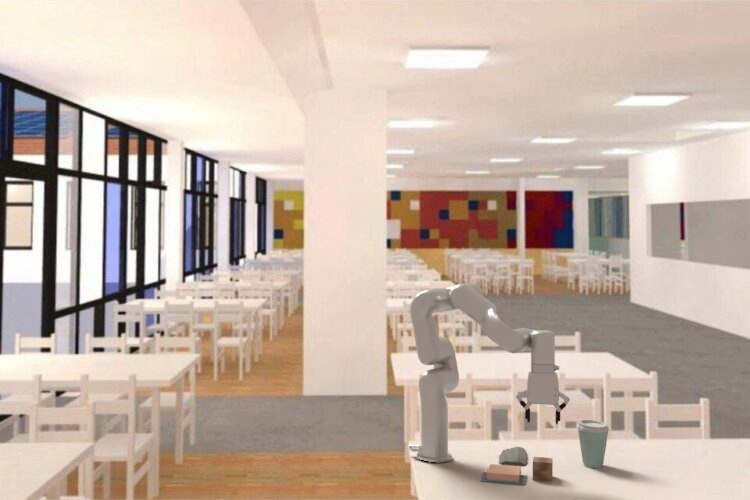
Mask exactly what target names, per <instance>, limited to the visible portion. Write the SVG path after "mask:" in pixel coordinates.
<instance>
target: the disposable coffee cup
mask: <svg viewBox="0 0 750 500" xmlns="http://www.w3.org/2000/svg"><path fill="white" fill-rule="evenodd" d="M576 425H577V426H576V429H577V432H578V433H577V434H578V440H579V445H580V452H581V460H582V463H583V465H584V466H585V467H586V468H591V469H600V468H602V467H603V465H604V461H605V454H606V448H607V444H608V443H607V442H608V435H609V431H610V430H609V426H608V424H607V423H606V422H605V423H604V422H603V421H598V420H594V419H585V418H584V419H583V418H582V419H579V420H578V423H577V424H576Z"/></svg>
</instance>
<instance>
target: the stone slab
mask: <svg viewBox="0 0 750 500" xmlns="http://www.w3.org/2000/svg"><path fill="white" fill-rule="evenodd" d="M502 450H503V451H502ZM502 450H501V452H502V453H501V452H500V454H499V456H498V460H499V461H498V463H499V465H509V466H521V467H524V466H525V467H526V466H527V465H528V464H529V462H528V455H527V451H526V449H525V448H524V447H521V446H515V447H511V448H510V449H509V448H506V450H505V449H502Z"/></svg>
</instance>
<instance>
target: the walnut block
mask: <svg viewBox="0 0 750 500" xmlns="http://www.w3.org/2000/svg"><path fill="white" fill-rule="evenodd" d="M553 462H554V461H553V457H542V456H541V457H540V456H533V458H532V481H538V482H540V481H541V482H548V483H552V482H553V473H554V472H553V468H554V467H553Z"/></svg>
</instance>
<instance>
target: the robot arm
mask: <svg viewBox="0 0 750 500" xmlns="http://www.w3.org/2000/svg"><path fill="white" fill-rule="evenodd" d="M455 310H459V311H461V312H462V313H464V314H465V315H466V316H468V317H469V318H470V319H471V320H472V321H474V322H475V323H477V325H479V327H481V329H482V331H483V332H484V333H485V335H486V336H487V338H488V339H490V340H491V341H492V342H493V343H495V344H496V345H497V346H498V347H500V348H501V349H502V350H504V351H506V352H508V353H511V354H518V353H521V352H526V351H530V371H529V372H528V375H527V382H526V389H525V390H523V391H522V392H520V393H518V394H516V396H515V398H516V399H517V401H518V402H519V404H520V406H522V408H523V409H524V411H525V414H524V415H525V418H524V419H525V420H527V423H530V422H531V406H532V404H533V405H552V406H554V408H555V409H556V410H555V424H556V425H558V424H559V422H561V411H562V410H563V409H565V408H566V406H567V405H568V404H569V402H570V401H571V399H570V397H569V396H568V395H566V394H564V393H563V392H561V391H560V387H559V386H560V385H559V384H560V383H559V376H558V372H556V371H560V365H557V364H556V359H555V358H556V353H555V352H556V351H555V349H556V347H555V346H556V342H555V341H556V337H555V332H553V331H551V330H548V329H531V328H527V327H521V328H520V327H519V328H515V329H514V328H512V327H511V326H509V325H508V324H506V323H505V322H504V321H503V320H501V318H500V317H499V315H498V314H497V306H496V305H495V304H494V303H493V302H491V301H490V300H489V299H487V298H486V297H484V291H483V290H482V288H481V287H480V286H479V285H478V284H476V283H472V282H468V283H467V282H465V283H458V284H456V285H454V286H450V287H441V288H429V289H424V290H422V291H420V292H418V293H417V294H416V295H415V296H414V297H413V298H412V301H411V303H410V307H409V313H410V314H409V315H410V319H411V320H410V321H411V323H412V327H413V334H414V341H415V347H416V354H417V358H418V360H419V362H420V363H421V364H423V365H424V366H433V368H431V369H428V370H425V371H424V372H423V373H422V374H421V376H420V377H419V378H418V379H419V380H418V390H419V391H418V392H419V397H420V415H421V416H420V417H421V418H420V441H421V442H420V444H416V445H415V444H409V448H408V449H409V451H411V452H417V454H416V458H418V459H417V460H419V459H420V460H419V461H421V460H424V461H429V462H428V463H431V462H436V463H435V464H437V463H438V464H439V463H446V462H449V461H452V460H453V454H452V453H450V452H449V406H448V402H447V401H448V400H447V397H446V394H447V393H451V392H453V391H454V390H456V389H457V387H458V386H459V383H460V375H459V368H458V362H457V358H456V356H457V355H456V352H455V347H454V345H453V344H452V342H451V341H450V340H449V339H448V338H447V337H444V336H439V335H440V334H439V330H438V325H437V322H436V320H435V318H434V316H433V314H435V313H442V312H450V311H455ZM525 396H526V401H527V403H526V402H525V401H524V400H523V397H525ZM560 398H561V399H562V400H563V402H562V403H561V404H559V400H560ZM424 461H423V462H424Z"/></svg>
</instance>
